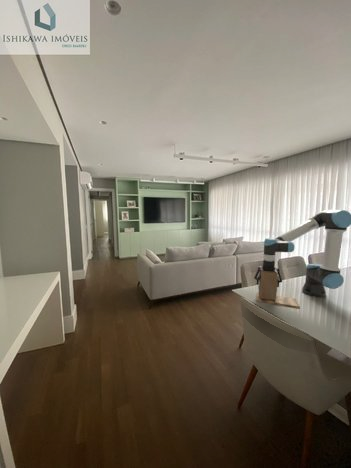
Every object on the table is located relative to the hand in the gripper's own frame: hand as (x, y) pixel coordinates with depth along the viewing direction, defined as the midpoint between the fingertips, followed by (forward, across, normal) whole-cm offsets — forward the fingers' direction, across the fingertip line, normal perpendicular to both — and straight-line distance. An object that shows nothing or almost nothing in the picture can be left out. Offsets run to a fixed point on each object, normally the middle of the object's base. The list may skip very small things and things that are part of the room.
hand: (267, 289), depth 139 cm
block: (+6, 0, 0) cm, 6 cm away
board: (+7, -6, 0) cm, 9 cm away
